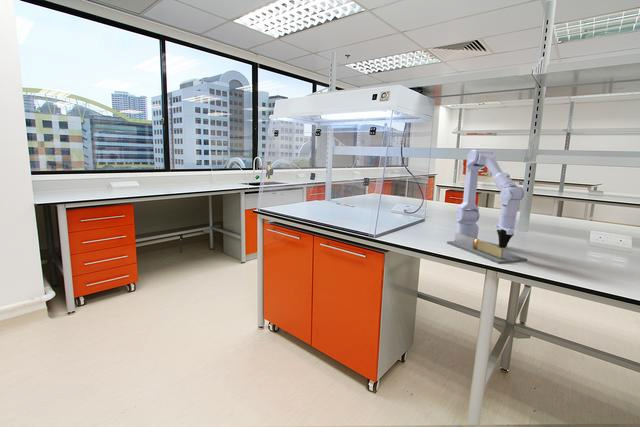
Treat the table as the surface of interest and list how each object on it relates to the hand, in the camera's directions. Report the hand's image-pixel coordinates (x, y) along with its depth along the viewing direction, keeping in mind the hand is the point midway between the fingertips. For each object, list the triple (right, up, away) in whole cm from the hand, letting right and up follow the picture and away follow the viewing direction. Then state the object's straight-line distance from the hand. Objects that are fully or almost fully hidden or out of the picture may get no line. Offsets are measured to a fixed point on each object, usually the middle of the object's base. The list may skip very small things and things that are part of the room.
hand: (502, 247), depth 132 cm
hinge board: (-4, -2, +6) cm, 8 cm away
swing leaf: (-6, -2, 0) cm, 7 cm away
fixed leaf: (-11, -1, +12) cm, 16 cm away
